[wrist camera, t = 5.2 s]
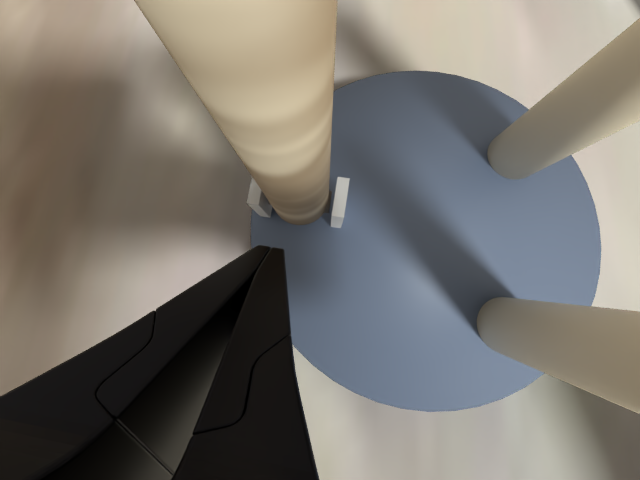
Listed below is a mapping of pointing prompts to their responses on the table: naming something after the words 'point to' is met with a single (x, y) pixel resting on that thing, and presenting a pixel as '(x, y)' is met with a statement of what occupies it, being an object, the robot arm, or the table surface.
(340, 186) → the round peg stand
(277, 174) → the hinged leg
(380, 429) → the table surface
